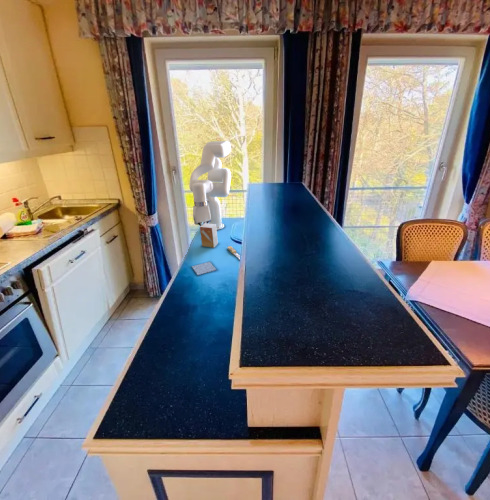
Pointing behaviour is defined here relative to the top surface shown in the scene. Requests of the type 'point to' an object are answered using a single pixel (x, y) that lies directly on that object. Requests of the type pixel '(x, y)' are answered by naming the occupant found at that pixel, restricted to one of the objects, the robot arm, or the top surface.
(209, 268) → the cloth
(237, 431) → the top surface
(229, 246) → the knife
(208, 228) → the small box
